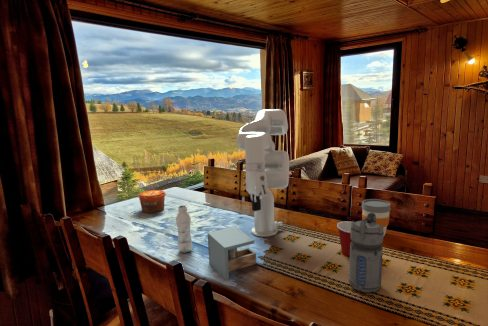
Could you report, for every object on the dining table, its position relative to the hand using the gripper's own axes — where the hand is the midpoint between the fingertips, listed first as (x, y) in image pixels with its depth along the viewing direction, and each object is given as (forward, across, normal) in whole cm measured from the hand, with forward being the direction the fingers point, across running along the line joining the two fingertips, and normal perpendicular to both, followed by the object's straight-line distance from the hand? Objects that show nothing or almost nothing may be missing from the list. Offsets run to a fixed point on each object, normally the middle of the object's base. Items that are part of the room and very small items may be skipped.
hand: (256, 210), depth 135 cm
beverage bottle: (+19, -40, -18) cm, 48 cm away
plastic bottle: (+19, +19, +25) cm, 37 cm away
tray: (+19, -4, +12) cm, 23 cm away
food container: (+21, +84, +21) cm, 89 cm away
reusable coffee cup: (+20, -13, -57) cm, 62 cm away
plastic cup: (+20, -21, -32) cm, 43 cm away
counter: (+19, -4, +15) cm, 24 cm away
